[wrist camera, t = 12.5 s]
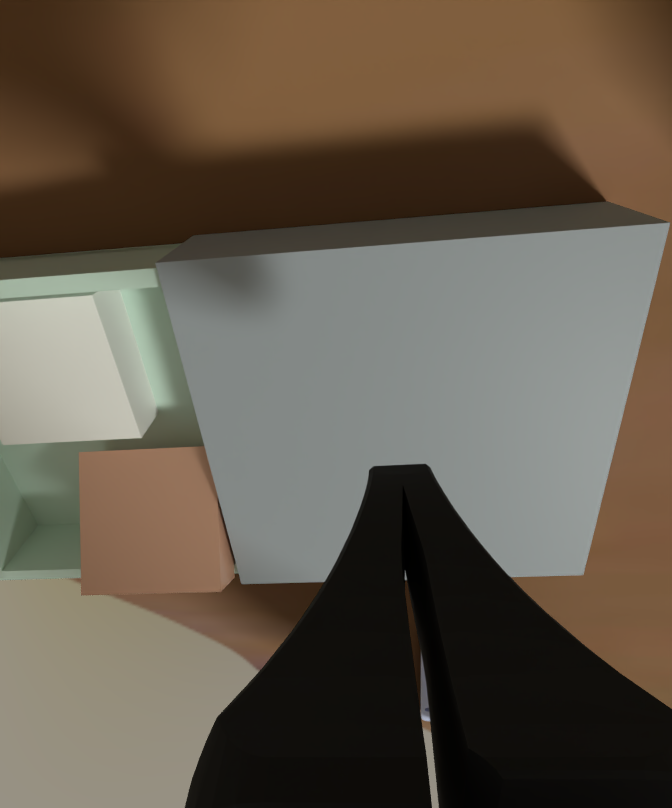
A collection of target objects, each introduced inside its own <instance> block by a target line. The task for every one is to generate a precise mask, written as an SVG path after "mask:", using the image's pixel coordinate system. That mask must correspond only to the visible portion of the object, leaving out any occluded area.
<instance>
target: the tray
mask: <svg viewBox="0 0 672 808" xmlns="http://www.w3.org/2000/svg"><path fill="white" fill-rule="evenodd" d="M181 244H182V243H180V244H167V245H155V246H143V247H130V248H118V249H106V250H93V251H81V252H69V253H56V254H44V255H32V256H19V257H7V258H0V299H3V298H17V297H30V296H44V295H57V294H71V293H84V292H97V291H111V290H120V291H121V294H122V298H123V301H124V304H125V307H126V310H127V314H128V317H129V320H130V323H131V326H132V329H133V333H134V336H135V339H136V342H137V345H138V348H139V352H140V355H141V358H142V361H143V364H144V367H145V371H146V374H147V377H148V380H149V383H150V387H151V390H152V393H153V396H154V399H155V402H156V406H157V409H158V412H159V413H158V414H157V416H156V417H155V419H154V420H153V422H152V423H151V425H150V426H149V428H148V429H147V431H146V432H145V434H144V435H143V436H142V438H131V439H111V440H92V441H73V442H54V443H35V444H15V445H3V444H2V442H1V440H0V580H23V579H57V578H81V551H80V496H79V452H89V451H103V450H123V449H144V448H165V447H186V446H204V442H203V439H202V435H201V431H200V428H199V424H198V420H197V416H196V413H195V409H194V405H193V402H192V398H191V394H190V390H189V387H188V383H187V379H186V375H185V372H184V368H183V364H182V361H181V357H180V353H179V349H178V346H177V342H176V338H175V335H174V331H173V327H172V323H171V320H170V316H169V312H168V308H167V305H166V301H165V297H164V294H163V290H162V286H161V282H160V279H159V275H158V271H157V268H156V264H155V263H156V262H157V261H159V260H160V259H161V258H163V257H164V256H166V255H167V254H168V253H170V252H171V251H172V250H174V249H175V248H177V247H178V246H179V245H181ZM234 572H235V573H238V569H237V565H236V562H235V558H234Z"/></svg>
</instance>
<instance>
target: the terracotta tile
mask: <svg viewBox="0 0 672 808" xmlns="http://www.w3.org/2000/svg"><path fill="white" fill-rule="evenodd" d="M79 496H80V551H81V595H117V594H157V593H196V592H221V591H222V590H223V589H224V588H225V587H226V586H227V585H228V584H229V583H230V582H231V581H232V580H233V579H234V578H235V572H234V554H233V550H232V547H231V543H230V539H229V536H228V532H227V528H226V524H225V521H224V517H223V513H222V509H221V506H220V502H219V498H218V495H217V491H216V487H215V483H214V480H213V476H212V472H211V469H210V465H209V461H208V457H207V454H206V450H205V446H186V447H165V448H144V449H123V450H103V451H89V452H79Z"/></svg>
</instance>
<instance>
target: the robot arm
mask: <svg viewBox="0 0 672 808" xmlns="http://www.w3.org/2000/svg"><path fill="white" fill-rule="evenodd" d="M405 572H406V577H407V583H408V588H409V593H410V598H411V603H412V608H413V613H414V619H415V624H416V629H417V634H418V639H419V644H420V649H421V715H420V707H419V700H418V693H417V686H416V678H415V670H414V663H413V655H412V647H411V639H410V631H409V623H408V614H407V606H406V598H405ZM421 718H422V719H423V720H425V721H430V724H431V733H432V743H433V753H434V762H435V772H436V782H437V792H438V802H439V808H672V709H671V708H669V707H668V706H666V705H665V704H664V703H662V702H661V701H659V700H658V699H656V698H655V697H654V696H652V695H651V694H649V693H648V692H646V691H645V690H643V689H642V688H641V687H639V686H638V685H636V684H635V683H633V682H632V681H630V680H629V679H628V678H626V677H625V676H623V675H622V674H620V673H619V672H618V671H616V670H615V669H614V668H613V667H611V666H610V665H609V664H607V663H606V662H605V661H604V660H602V659H601V658H600V657H598V656H597V655H596V654H595V653H593V652H592V651H591V650H589V649H588V648H587V647H586V646H585V645H583V644H582V643H581V642H580V641H579V640H578V639H576V638H575V637H574V636H573V635H572V634H571V633H569V632H568V631H567V630H566V629H565V628H564V627H563V626H561V625H560V624H559V623H558V622H557V621H556V620H554V619H553V618H552V617H551V616H550V615H549V614H547V613H546V612H545V611H544V610H543V609H542V608H541V607H540V606H539V605H538V604H537V603H536V602H535V601H534V600H533V599H532V598H530V597H529V596H528V595H527V594H526V593H525V592H524V591H523V590H522V589H521V588H520V587H519V586H518V585H517V584H516V583H515V582H514V580H513V579H512V578H511V577H510V576H509V575H508V574H507V573H506V572H505V571H504V570H503V569H502V568H501V567H500V566H499V564H498V563H497V562H496V561H495V560H494V559H493V558H492V556H491V555H490V554H489V553H488V552H487V550H486V549H485V548H484V547H483V546H482V544H481V543H480V542H479V541H478V539H477V538H476V537H475V536H474V534H473V533H472V532H471V531H470V529H469V528H468V526H467V525H466V524H465V522H464V521H463V520H462V518H461V517H460V515H459V514H458V513H457V511H456V510H455V508H454V507H453V505H452V504H451V503H450V501H449V499H448V498H447V496H446V495H445V493H444V492H443V490H442V488H441V487H440V485H439V483H438V481H437V480H436V478H435V476H434V474H433V472H432V470H431V468H430V467H429V466H428V465H427V464H407V465H386V466H373V467H372V468H371V469H370V470H369V476H368V481H367V486H366V490H365V494H364V497H363V500H362V503H361V506H360V509H359V511H358V514H357V516H356V519H355V522H354V524H353V527H352V529H351V531H350V534H349V536H348V538H347V540H346V542H345V544H344V546H343V548H342V550H341V552H340V555H339V557H338V559H337V561H336V562H335V564H334V566H333V568H332V570H331V572H330V573H329V575H328V577H327V579H326V580H325V582H324V584H323V585H322V587H321V589H320V590H319V592H318V594H317V595H316V597H315V598H314V600H313V601H312V603H311V604H310V606H309V607H308V609H307V610H306V612H305V613H304V615H303V616H302V618H301V619H300V620H299V622H298V623H297V625H296V626H295V627H294V629H293V630H292V632H291V633H290V634H289V635H288V637H287V638H286V639H285V640H284V642H283V643H282V644H281V645H280V647H279V648H278V649H277V650H276V652H275V653H274V654H273V655H272V657H271V658H270V659H269V660H268V662H267V663H266V664H265V665H264V667H263V668H262V669H261V670H260V671H259V672H258V674H257V675H256V676H255V677H254V678H253V679H252V680H251V681H250V682H249V684H248V685H247V686H246V687H245V688H244V689H243V690H242V691H241V692H240V693H239V694H238V695H237V696H236V698H235V699H234V700H233V701H232V702H231V703H230V704H229V705H228V706H227V707H226V708H225V709H224V710H223V712H222V713H221V714H220V715H219V716H218V717H217V719H216V721H215V723H214V725H213V727H212V729H211V732H210V734H209V736H208V738H207V741H206V743H205V746H204V748H203V751H202V753H201V756H200V758H199V761H198V764H197V767H196V770H195V772H194V775H193V778H192V781H191V785H190V789H189V793H188V797H187V801H186V805H185V808H432V804H431V794H430V785H429V776H428V767H427V757H426V750H425V743H424V737H423V729H422V722H421Z"/></svg>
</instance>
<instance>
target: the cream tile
mask: <svg viewBox="0 0 672 808" xmlns="http://www.w3.org/2000/svg"><path fill="white" fill-rule="evenodd" d="M158 413H159V412H158V409H157V406H156V402H155V399H154V396H153V393H152V390H151V387H150V383H149V380H148V377H147V374H146V371H145V367H144V364H143V361H142V358H141V355H140V352H139V348H138V345H137V342H136V339H135V336H134V333H133V329H132V326H131V323H130V320H129V317H128V314H127V310H126V307H125V304H124V301H123V298H122V294H121V291H120V290H111V291H97V292H84V293H71V294H57V295H44V296H30V297H17V298H3V299H0V440H1V442H2V444H3V445H15V444H35V443H54V442H73V441H92V440H111V439H131V438H142V436H143V435H144V434H145V432H146V431H147V429H148V428H149V426H150V425H151V423H152V422H153V420H154V419H155V417H156V416H157V414H158Z"/></svg>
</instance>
